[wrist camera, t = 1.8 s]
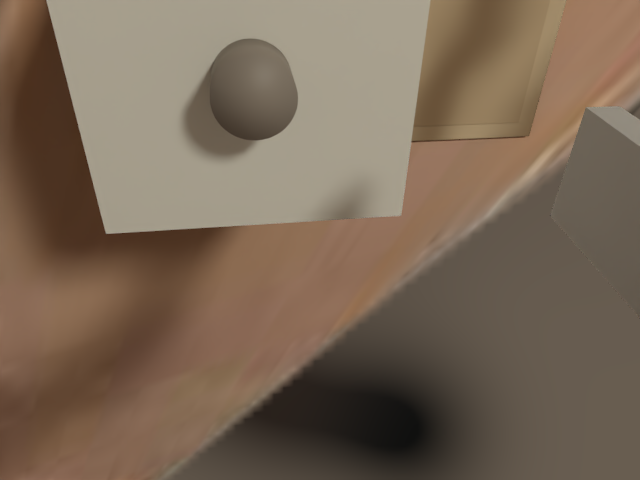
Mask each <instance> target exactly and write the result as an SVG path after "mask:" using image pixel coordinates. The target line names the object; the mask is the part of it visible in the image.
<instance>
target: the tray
mask: <svg viewBox="0 0 640 480" xmlns="http://www.w3.org/2000/svg"><path fill="white" fill-rule="evenodd" d="M565 3H566V0H431V1H430V8H429V15H428V23H427V30H426V37H425V45H424V52H423V59H422V66H421V74H420V81H419V88H418V96H417V103H416V110H415V118H414V125H413V132H412V140H411V141H426V140H449V139H473V138H496V137H519V136H529V134H530V131H531V127H532V123H533V120H534V116H535V112H536V109H537V105H538V102H539V98H540V94H541V91H542V87H543V83H544V80H545V76H546V72H547V69H548V65H549V62H550V58H551V54H552V51H553V47H554V43H555V40H556V36H557V33H558V29H559V25H560V22H561V18H562V14H563V11H564V7H565Z"/></svg>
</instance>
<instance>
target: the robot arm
mask: <svg viewBox="0 0 640 480" xmlns="http://www.w3.org/2000/svg"><path fill="white" fill-rule="evenodd" d="M550 216H551V217H552V219H553V220H554V221H555V222H556V223H557V224H558V225H559V227H560V228H561V229H562V230H563V231H564V232H565V233H566V235H567V236H568V237H569V238H570V239H571V240H572V241H573V243H574V244H575V245H576V246H577V247H578V248H579V250H580V251H581V252H582V253H583V254H584V255H585V256H586V258H587V259H588V260H589V261H590V262H591V263H592V264H593V265H594V267H595V268H596V269H597V270H598V271H599V272H600V273H601V275H602V276H603V277H604V278H605V279H606V280H607V281H608V283H609V284H610V285H611V286H612V287H613V288H614V290H615V291H616V292H617V293H618V294H619V295H620V296H621V298H622V299H623V300H624V301H625V302H626V303H627V304H628V306H629V307H630V308H631V309H632V310H633V311H634V312H635V314H636V315H637V316H638V317H639V318H640V120H639V119H638V118H636V117H635V116H633V115H632V114H630V113H629V112H627V111H625V110H624V109H622V108H621V107H619V106H614V107H586V109H585V112H584V115H583V118H582V121H581V124H580V127H579V130H578V133H577V136H576V139H575V142H574V145H573V148H572V151H571V154H570V157H569V160H568V163H567V166H566V169H565V172H564V175H563V178H562V181H561V184H560V187H559V190H558V193H557V196H556V199H555V202H554V205H553V208H552V211H551V215H550Z"/></svg>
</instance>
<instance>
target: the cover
mask: <svg viewBox="0 0 640 480" xmlns="http://www.w3.org/2000/svg"><path fill="white" fill-rule="evenodd" d="M46 1H47V5H48V9H49V13H50V17H51V21H52V25H53V28H54V32H55V36H56V40H57V44H58V48H59V52H60V56H61V60H62V64H63V68H64V72H65V75H66V79H67V83H68V87H69V91H70V95H71V99H72V103H73V107H74V111H75V115H76V119H77V122H78V126H79V130H80V134H81V138H82V142H83V146H84V150H85V154H86V158H87V162H88V166H89V169H90V173H91V177H92V181H93V185H94V189H95V193H96V197H97V201H98V205H99V209H100V213H101V216H102V220H103V224H104V228H105V232H106V234H113V233H129V232H145V231H161V230H178V229H194V228H210V227H226V226H242V225H258V224H275V223H291V222H307V221H323V220H339V219H355V218H371V217H388V216H401V213H402V205H403V198H404V191H405V184H406V176H407V169H408V162H409V154H410V147H411V140H412V132H413V125H414V118H415V110H416V103H417V96H418V88H419V81H420V74H421V66H422V59H423V52H424V45H425V37H426V30H427V23H428V15H429V8H430V1H431V0H46Z"/></svg>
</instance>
